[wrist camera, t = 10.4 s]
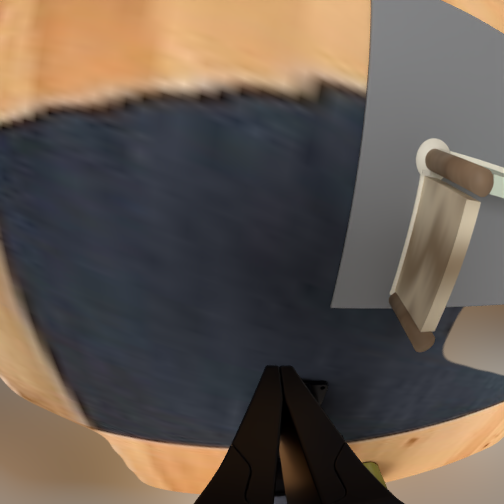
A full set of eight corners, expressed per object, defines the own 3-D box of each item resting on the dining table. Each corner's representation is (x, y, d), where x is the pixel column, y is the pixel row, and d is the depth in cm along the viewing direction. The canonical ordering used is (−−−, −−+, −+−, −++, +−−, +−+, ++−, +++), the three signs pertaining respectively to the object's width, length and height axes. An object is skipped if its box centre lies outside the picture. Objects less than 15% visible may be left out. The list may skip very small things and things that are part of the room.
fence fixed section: (403, 306, 23) (430, 353, 18) (386, 306, 23) (412, 354, 18) (444, 150, 17) (496, 171, 12) (426, 146, 17) (477, 165, 12)
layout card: (509, 302, 24) (510, 304, 23) (330, 306, 23) (331, 308, 23) (560, 77, 13) (562, 77, 12) (370, -24, 12) (372, -26, 12)
